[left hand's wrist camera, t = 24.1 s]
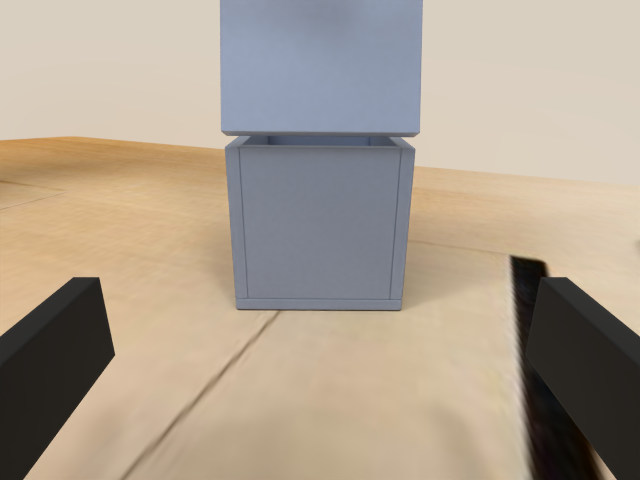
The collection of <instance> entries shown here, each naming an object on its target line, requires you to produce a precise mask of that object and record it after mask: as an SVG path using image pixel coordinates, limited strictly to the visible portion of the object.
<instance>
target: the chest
mask: <svg viewBox="0 0 640 480" xmlns="http://www.w3.org/2000/svg"><path fill="white" fill-rule="evenodd" d="M225 157H226V171H227V185H228V199H229V213H230V227H231V241H232V255H233V268H234V282H235V296H236V308H237V309H282V310H401V304H402V300H401V299H402V293H403V282H404V271H405V260H406V249H407V238H408V227H409V215H410V204H411V193H412V182H413V171H414V159H415V148H414V147H412V146H411V145H410V144H408V143H407V142H406V141H404V140H403V139H402V138H401V137H325V136H239V137H237V138H236V139H235V140H233V141H232V142H231V143H230V144H228V145H227V146H226V147H225Z"/></svg>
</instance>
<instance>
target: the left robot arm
mask: <svg viewBox="0 0 640 480" xmlns="http://www.w3.org/2000/svg"><path fill="white" fill-rule="evenodd" d="M114 356H115V352H114V347H113V342H112V337H111V333H110V328H109V323H108V318H107V313H106V308H105V303H104V298H103V294H102V289H101V284H100V279H99V277H73V278H72V279H71V280H69V281H68V282H67V283H66V284H65V285H63V286H62V287H61V288H60V289H58V290H57V291H56V292H55V293H53V294H52V295H51V296H50V297H49V298H47V299H46V300H45V301H44V302H42V303H41V304H40V305H39V306H37V307H36V308H35V309H34V310H32V311H31V312H30V313H29V314H28V315H26V316H25V317H24V318H23V319H21V320H20V321H19V322H18V323H16V324H15V325H14V326H13V327H11V328H10V329H9V330H8V331H7V332H5V333H4V334H3V335H2V336H0V480H23V479H24V478H25V476H26V475H27V474H28V472H29V471H30V470H31V468H32V467H33V466H34V464H35V463H36V462H37V460H38V459H39V457H40V456H41V455H42V453H43V452H44V451H45V449H46V448H47V447H48V445H49V444H50V443H51V441H52V440H53V439H54V437H55V436H56V434H57V433H58V432H59V430H60V429H61V428H62V426H63V425H64V424H65V422H66V421H67V420H68V418H69V417H70V415H71V414H72V413H73V411H74V410H75V409H76V407H77V406H78V405H79V403H80V402H81V401H82V399H83V398H84V397H85V395H86V394H87V392H88V391H89V390H90V388H91V387H92V386H93V384H94V383H95V382H96V380H97V379H98V378H99V376H100V375H101V374H102V372H103V371H104V369H105V368H106V367H107V365H108V364H109V363H110V361H111V360H112V359H113V357H114ZM525 356H526V357H527V359H528V360H529V361H530V363H531V364H532V365H533V367H534V368H535V369H536V371H537V372H538V374H539V375H540V376H541V378H542V379H543V380H544V382H545V383H546V384H547V386H548V387H549V388H550V390H551V391H552V392H553V394H554V395H555V397H556V398H557V399H558V401H559V402H560V403H561V405H562V406H563V407H564V409H565V410H566V411H567V413H568V414H569V415H570V417H571V418H572V420H573V421H574V422H575V424H576V425H577V426H578V428H579V429H580V430H581V432H582V433H583V434H584V436H585V437H586V439H587V440H588V441H589V443H590V444H591V445H592V447H593V448H594V449H595V451H596V452H597V453H598V455H599V456H600V457H601V459H602V460H603V462H604V463H605V464H606V466H607V467H608V468H609V470H610V471H611V472H612V474H613V475H614V476H615V478H616V479H617V480H640V336H638V335H637V334H636V333H635V332H633V331H632V330H631V329H630V328H629V327H627V326H626V325H625V324H624V323H622V322H621V321H620V320H619V319H617V318H616V317H615V316H614V315H612V314H611V313H610V312H609V311H608V310H606V309H605V308H604V307H603V306H601V305H600V304H599V303H598V302H596V301H595V300H594V299H593V298H591V297H590V296H589V295H588V294H587V293H585V292H584V291H583V290H582V289H580V288H579V287H578V286H577V285H575V284H574V283H573V282H572V281H571V280H569V279H568V278H567V277H541V279H540V284H539V289H538V294H537V298H536V303H535V308H534V313H533V318H532V323H531V328H530V333H529V337H528V342H527V347H526V352H525Z"/></svg>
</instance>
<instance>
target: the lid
mask: <svg viewBox="0 0 640 480" xmlns="http://www.w3.org/2000/svg"><path fill="white" fill-rule="evenodd" d="M422 7H423V0H220V59H221V131H222V132H223V133H224V134H225V135H227V136H325V137H415V136H416V135H417V134H419V133H420V96H421V95H420V94H421V52H422Z"/></svg>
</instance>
